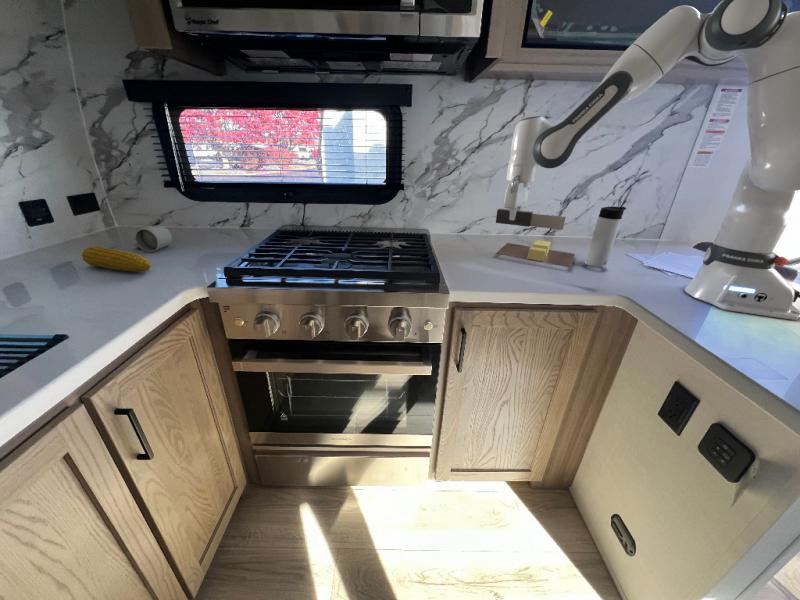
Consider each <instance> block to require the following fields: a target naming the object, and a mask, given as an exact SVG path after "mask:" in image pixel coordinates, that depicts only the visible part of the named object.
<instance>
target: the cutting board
mask: <svg viewBox="0 0 800 600" xmlns="http://www.w3.org/2000/svg"><path fill="white" fill-rule="evenodd" d="M531 247H532V246H528V245H523V244H517V243H513V242H507V243H506V244H504V245H503V246H502V247H501V248H500V249H499V250H498V251H496V253H495V254H496V255H500V256H505V257H506V256H507V257H511V258H517V259H523V260H528V261H533V262H539V263H543V264H549V265H555V266H560V267H561V266H562V267H566V268H571V267H572V265H573V261H574V258H575V255H576V254H575V253H571V252H565V251H559V250H554V249H549V252H548V253H547V255H546V256H545V258H544V261H537V260H532V259H528V254H529V249H530V248H531Z"/></svg>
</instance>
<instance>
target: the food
mask: <svg viewBox="0 0 800 600" xmlns="http://www.w3.org/2000/svg"><path fill="white" fill-rule="evenodd" d="M81 254H82V255H81V258H82V260H83V261H84V263H86V264H87V265H90V266H94V267H98V268H100V267H101V268H103V269H110V270H115V271H117V270H118V271H125V272H131V273H132V272H135V273H141V272H146V271H149V270H150V269H151V264H150V263H151V262H150V261H149V260H148V259H147V258H146V257H145V256H143V255H142V256H141V255H140V254H137V253H135V252H129V251H124V250H119V249H113V248H108V247H101V246H88V247H86V248H85V249H84V250H83V251H82V252H81Z"/></svg>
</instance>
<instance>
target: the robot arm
mask: <svg viewBox="0 0 800 600" xmlns="http://www.w3.org/2000/svg"><path fill="white" fill-rule="evenodd" d="M736 58H739V59H740V60H741V61H742V62H743V63H744V65H745V67H746V70H747V75H746V124H747V129H748V137H749V145H750V146H749V147H750V156H749V157H748V158H747V160H746V161H745V163H744V164H743V165H744V166H743V167H742V170H741V172H740V175H739V178H738V180H737V183H736V186H735V188H734V191H733V194H732V197H731V199H730V203H729V206H728V209H727V212H726V214H725V217H724V219H723V221H722V223H721V225H720V227H719V230H718V232H717V234H716V236H715V238H714V241H711V243H710V245H709V246H708V248H707V249H706V251H705V254H704V256H703V259H702V264H701V266H700V268H699V269H698V270H697V272H696V274H695V275H694V277H693V278H692V279H691V281H689V283H688V284H687V285H686V286H685V287H684V292H685V293H687V294H688V295H689V296H692V297H693V298H696V299H697V300H700V301H703V302H705V303H709V304H711V305H713V306H714V307H717V308H720V309H721V310H724V311H729V312H730V311H731V312H738V313H742V314H743V313H744V314H751V315H756V316H757V315H758V316H764V317H772V318H778V319H785V320H792V321H798V320H799V319H800V310H799V309H798V308H797V307H795V306H794V305H793V303H796V301H797V299H800V291H798V290H797V289H795V288H794V287H793V286H792V285H791V284H790V282H788V280H786V278H784V276H783V275H782V274H780V272H779V271H777V270H776V268H775V267H776V266H778V267H779V268H781V267H785V266H788V264H789V260H788V259H787V258H785V257H784V256H780V255H778V254H777V253H775V252H773V251H774V249H775V248H776V246H777V244H778V243H779V240H780V238H781V237H782V235H783V233H784V231H785V229H786V227H787V225H788V224H789V221H790V220H791V219H790V218H791V213H792V210H793V206H794V203H795V200H796V197H797V194H798V191H800V10H797V11H792V12H789V7H788V6H787V5H786V4H785V3H784V2H783V1H782V0H722V1H720V2H719V3H718V4H717V5H716V6H715V7H714V9H713V10H712V11H711V12H708V13H702V12H700V11H699V10H698V9H696V8H695V7H694V6H691V5H683V4H682V5H678V6H676V7H673V8H672V9H670V10H669V11H668V12H666V13H665V14H664V15H662V16H661V17H660V18H659V19H658V20H657V21H656V22H654V23H653V24H652V25H650V26H649V27H648V28H647V29H646V30H645V31H643V33H642V34H641V35H640V36H638V38H636V40H634V41H633V42H632V44H631V45H629V46H628V48H626V49H625V51H623V53H622V54H621V55H620V57H619V58H618V59H617V60H616V61H615V62H614V64H613V65H612V66H611V67H610V68H609V70H608V71H607V73H606V75H604V77H603V79H602V80H601V81H600V82H599V84H598V85H597V87H596V88H595V89H594V90H593V91H592V92H591V93H590V95H589V96H587V98H585V99H584V100H583V101H582V102H581V103H580V104H579V105H578V106H577V107H576V108H575V109H574V110H573V111H572V112H571V113H570V114H569V115H568V116H567V117H566V118H565V119H564V120H563V121H561V122H559V123H557V124H553V123H551V122H549V121H548V120H547V119H546V118H545V117H544V116H541V115H537V116H529V117H525V118H522V119H521V120H519V121H518V122H517V123H516V125H515V129H514V131H513V134H512V140H511V144H510V159H509V160H508V165H507V171H506V176H505V180H506V181H508V184H507V187H506V189H505V194H504V195H505V196H504V200H503V209H508V210H510V217H509V220H515V219H516V211H517V210H518V211H521V209H522V205H523V204H525V203H527V202H528V201H529V198H530V195H531V193H532V192H531V191H532V188H533V183H534V182H535V181H536V177H537V172H538V167H539V166H540V167H541V168H544V169H555V168H557V167H560V166H561V165H563V164H565V163H566V162H567V161H569V159H571V157H572V156H573V155H574V153H575V151H576V147H577V144H578V142H579V141H580V139H581V138H582V137H584V136H585V134H586V133H588V132H589V131H590V130H591V129H592V128H593V127H594V126H595V125H596V124H597V123H598V122H599V121H601V120H602V118H604V117H605V116H606V115H607V114H608V113H610V112H611V111H612V110H613V109H615V108H617V107H619V106H621V105H622V104H625V103H627V102H629V101H632V100H634V99H635V98H637V97H639V96H641V94H643V93H644V92H645V91H647V90H648V89H650V88H651V87H652V86H653V85H654V84H656V83H657V82H658V81H659V80H661V78H663V77H664V76H665V75H666V74H667V73H668V72H669V71H670V70H671V69H672V68H673V67H675V66H676V65H677V64H678V63H679V62H681V61H683V59H684V60H685V59H686V60H687V61H691V62H693V63H696V64H698V65H701V66H705V67H718V66H722V65H725V64H728V63H729V62H731V61H733V60H735V59H736Z"/></svg>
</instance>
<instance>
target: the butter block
mask: <svg viewBox="0 0 800 600" xmlns="http://www.w3.org/2000/svg"><path fill="white" fill-rule="evenodd" d="M551 243H552V242H551V241H547V240H541V239H536V240H535V241H534V242H533V243H532V246H531V247H536V248H542V249H547V250H546V254H545V256H546V255H547V253H548V252H549V250H550V247H551Z"/></svg>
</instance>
